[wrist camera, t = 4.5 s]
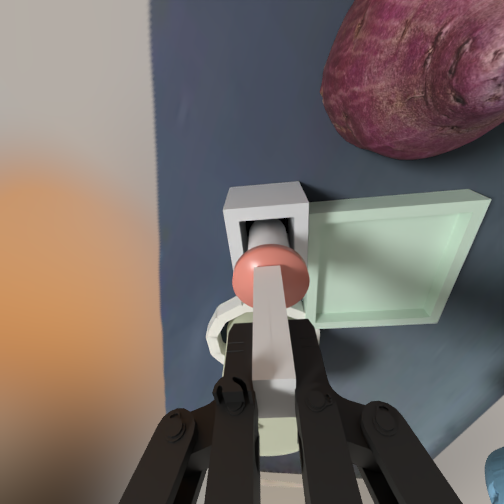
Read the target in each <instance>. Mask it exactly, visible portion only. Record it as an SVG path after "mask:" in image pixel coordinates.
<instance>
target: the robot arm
mask: <svg viewBox="0 0 504 504" xmlns="http://www.w3.org/2000/svg"><path fill="white" fill-rule="evenodd" d="M226 351H227V352H226V359H225V367H224V376H223V377H222V378H220V379H219V380H218V382H217V383H216V384H215V386H214V389H213V392H212V393H213V396H214V399H215V400H213V401H212V402H211V403H210V404H208V405H206V406H204V407H201V408H199V409H196V410H194V411H191V412H190V411H188V410H186V409H184V408H177V409H175V410H172V411H170V412H169V413H168V414H166V415H165V416H164V417H163V418H162V420H161V421H160V423H159V424H158V426H157V428H156V430H155V432H154V434H153V436H152V438H151V440H150V442H149V444H148V446H147V448H146V450H145V452H144V454H143V456H142V458H141V460H140V462H139V464H138V466H137V468H136V470H135V472H134V474H133V476H132V478H131V480H130V482H129V484H128V486H127V488H126V490H125V492H124V494H123V496H122V498H121V500H120V502H119V504H196V502H197V499H198V496H199V492H200V489H201V486H202V483H203V480H204V477H205V474H206V471H207V468H209V470H208V478H207V487H206V494H205V503H204V504H260V436H259V430H258V418H285V417H296V422H297V444H298V445H299V453H300V462H301V470H302V479H303V487H304V496H305V504H363V503H362V499H361V496H360V492H359V488H358V484H357V480H356V476H355V472H354V468H353V464H355V465H357V467H358V469H359V471H360V473H361V476H362V478H363V480H364V482H365V484H366V486H367V488H368V491H369V493H370V495H371V497H372V499H373V501H374V503H375V504H463V503H462V502H461V501H460V499H459V498H458V496H457V495H456V493H455V492H454V490H453V489H452V487H451V486H450V484H449V483H448V482H447V480H446V479H445V477H444V476H443V474H442V473H441V471H440V470H439V468H438V467H437V466H436V464H435V463H434V461H433V460H432V458H431V457H430V455H429V454H428V452H427V451H426V449H425V448H424V447H423V445H422V444H421V442H420V441H419V439H418V438H417V436H416V435H415V433H414V432H413V431H412V429H411V428H410V426H409V425H408V423H407V422H406V420H405V419H404V417H403V416H402V415H401V414H400V413H399V412H398V411H397V409H395V408H394V407H392V406H391V405H389V404H388V403H385V402H381V401H371V402H370V403H368V404H366V405H363V404H359V403H356V402H353V401H350V400H347V399H345V398H343V397H341V396H340V395H338V394H337V393H336V392H335V391H334V390H333V389H332V387H331V386H330V384H329V382H328V379H327V375H326V371H325V367H324V363H323V359H322V355H321V351H320V348H319V343H318V339H317V335H316V331H315V327H314V326H313V325H312V323H311V322H310V321H309V319H292V320H288V318H287V311H286V304H285V297H284V289H283V282H282V275H281V268H280V265H278V266H264V267H254V279H253V322H250V323H234V324H233V326H232V327H231V329H230V331H229V333H228V342H227V350H226ZM485 480H486V486H487V490H488V493H489V497H490V500H491V502H492V504H504V447H502V448H499V449H497V450H495V451H493V452H492V453H491V454H490V455H489V456H488V458H487V460H486V464H485Z"/></svg>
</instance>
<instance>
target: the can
mask: <svg viewBox="0 0 504 504" xmlns="http://www.w3.org/2000/svg"><path fill="white" fill-rule="evenodd" d="M287 318H288V320H292V319H294V318H292V317H289V316H287ZM250 322H253V312H246V313H244V314H242V315H240V316H238V317H236V318H234V319H232V320H230V321H229V323H228V326H227V342H228V333H229V331H230V329H231V327H232V326H233V324H234V323H250ZM226 350H227V343H226ZM226 352H227V351H225V359H226ZM225 359H224V367H225ZM224 367H223V375H222V377H223V376H224ZM258 430H259V436H260V456H277V455H285V454H290V453H293V452H297V451H299V445H298V444H297V422H296V417H285V418H258Z"/></svg>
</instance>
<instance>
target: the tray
mask: <svg viewBox="0 0 504 504" xmlns="http://www.w3.org/2000/svg"><path fill="white" fill-rule="evenodd" d="M490 202H491V199H490V198H487V197H485V196H483V195H481V194H478V193H476V192H474V191H472V190H470V189H463V190H451V191H439V192H427V193H415V194H403V195H391V196H379V197H367V198H355V199H343V200H331V201H319V202H309V219H308V256H307V269H308V273H309V277H310V283H309V288H308V290H307V293H306V294H305V296H304V297H303V305H304V310H305V319H309V321H310V322H311V323H312V325H313V326H314V327H315V329H329V328H350V327H370V326H391V325H412V324H433V323H437V322H438V320H439V318H440V315H441V313H442V311H443V309H444V306H445V304H446V302H447V300H448V297H449V295H450V293H451V290H452V288H453V286H454V284H455V281H456V279H457V277H458V275H459V272H460V270H461V268H462V265H463V263H464V261H465V259H466V256H467V254H468V252H469V249H470V247H471V245H472V243H473V240H474V238H475V236H476V234H477V231H478V229H479V227H480V224H481V222H482V220H483V218H484V215H485V213H486V211H487V209H488V206H489V204H490Z"/></svg>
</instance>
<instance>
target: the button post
mask: <svg viewBox="0 0 504 504" xmlns="http://www.w3.org/2000/svg"><path fill="white" fill-rule="evenodd" d="M223 213H224V219H225V225H226V230H227V236H228V242H229V248H230V254H231V260H232V265H233V271H234V268H235V265H236V262H237V261H238V259H239V258H240V257H241V256H242V255H243V254H244V253H245V252H246V251H248V242H249V236H247V230H246V222H245V221H251V220H264V219H276V218H288V233H286V234H287V239H288V243H289V248H291V249H293V250H295V251H296V252H297V253H298V254H300V255H301V257H302V258H303V259H304V261H305V263H306V266H307V256H308V219H309V202H308V200H307V197H306V195H305V193H304V191H303V189H302V187H301V185H300V183H299V181H295V182H284V183H273V184H262V185H251V186H240V187H230V188H229V192H228V195H227V198H226V202H225V205H224V208H223Z"/></svg>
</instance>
